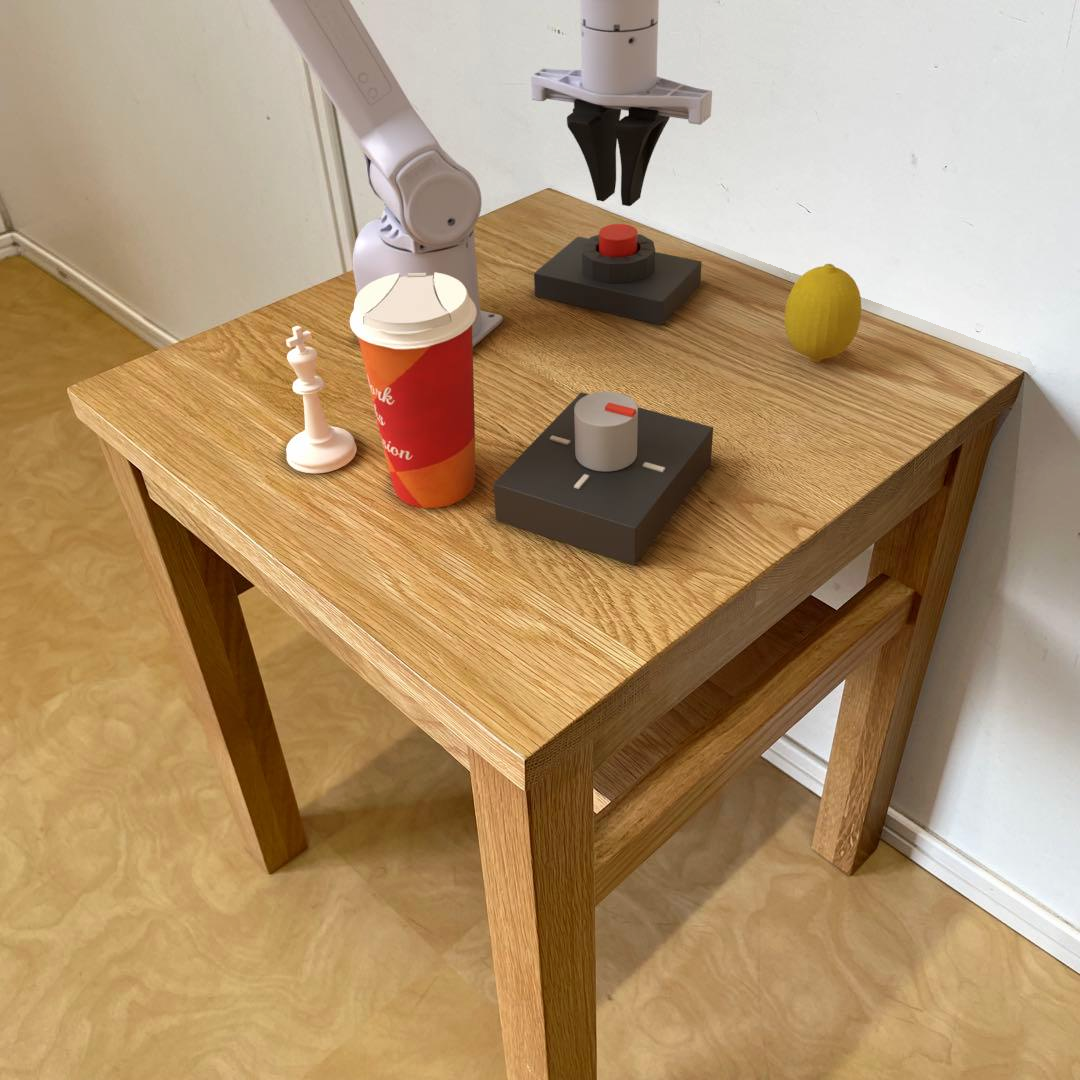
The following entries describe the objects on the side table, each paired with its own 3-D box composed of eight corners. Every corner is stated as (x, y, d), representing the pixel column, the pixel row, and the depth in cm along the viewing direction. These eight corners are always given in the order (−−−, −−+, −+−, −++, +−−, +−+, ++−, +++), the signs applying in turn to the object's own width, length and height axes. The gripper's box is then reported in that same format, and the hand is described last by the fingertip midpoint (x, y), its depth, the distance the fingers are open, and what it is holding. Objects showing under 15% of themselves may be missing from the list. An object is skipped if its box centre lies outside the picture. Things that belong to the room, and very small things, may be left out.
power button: (592, 255, 93) (592, 235, 92) (609, 240, 95) (609, 221, 94) (626, 262, 92) (627, 242, 91) (643, 247, 94) (643, 227, 93)
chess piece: (273, 453, 79) (244, 328, 73) (331, 425, 81) (307, 302, 75) (312, 482, 76) (285, 355, 70) (370, 452, 79) (349, 326, 72)
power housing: (534, 296, 96) (532, 253, 93) (578, 258, 101) (577, 216, 98) (662, 325, 91) (663, 280, 88) (700, 284, 96) (703, 241, 94)
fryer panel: (495, 520, 72) (492, 481, 70) (581, 427, 80) (581, 389, 78) (634, 566, 68) (635, 526, 66) (711, 463, 76) (713, 424, 74)
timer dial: (564, 462, 72) (563, 412, 69) (591, 430, 74) (591, 381, 72) (621, 478, 70) (621, 428, 68) (646, 445, 73) (648, 395, 70)
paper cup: (386, 451, 79) (357, 268, 70) (494, 449, 78) (479, 265, 69) (369, 520, 73) (335, 330, 64) (486, 519, 72) (469, 327, 63)
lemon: (853, 382, 83) (869, 284, 78) (778, 377, 84) (789, 280, 79) (852, 345, 87) (868, 250, 82) (780, 340, 88) (791, 246, 83)
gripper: (732, 16, 82) (720, 195, 90) (559, -2, 88) (563, 167, 96) (693, 43, 77) (685, 228, 86) (513, 22, 83) (522, 197, 92)
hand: (618, 198), depth 91 cm, fingers closed
